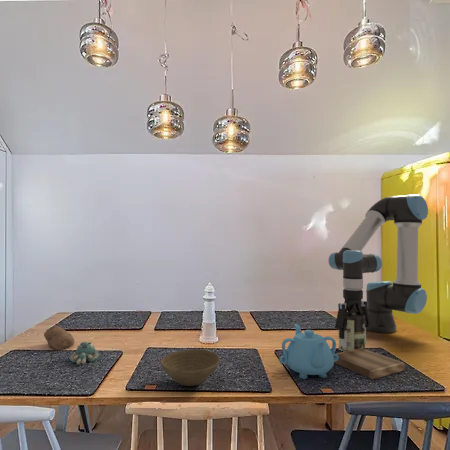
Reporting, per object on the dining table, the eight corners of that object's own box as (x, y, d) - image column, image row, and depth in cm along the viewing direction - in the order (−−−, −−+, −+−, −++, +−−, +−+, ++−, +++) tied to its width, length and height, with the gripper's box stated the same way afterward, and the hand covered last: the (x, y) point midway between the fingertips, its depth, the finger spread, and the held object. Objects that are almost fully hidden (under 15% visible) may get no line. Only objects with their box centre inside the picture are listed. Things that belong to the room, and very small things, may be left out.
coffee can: (362, 346, 149) (362, 312, 149) (367, 354, 139) (367, 318, 139) (336, 345, 151) (336, 311, 151) (339, 353, 141) (339, 316, 141)
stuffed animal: (64, 352, 125) (72, 336, 137) (64, 371, 126) (72, 353, 138) (96, 350, 127) (101, 334, 138) (96, 369, 128) (102, 352, 140)
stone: (47, 349, 151) (36, 332, 147) (66, 334, 158) (56, 317, 153) (63, 359, 144) (52, 342, 139) (82, 343, 150) (72, 325, 146)
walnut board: (361, 354, 139) (361, 347, 139) (404, 370, 123) (404, 362, 123) (330, 361, 132) (330, 354, 132) (372, 379, 116) (372, 371, 116)
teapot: (323, 388, 109) (323, 341, 109) (270, 371, 122) (270, 329, 122) (346, 373, 121) (346, 331, 121) (295, 359, 134) (295, 321, 134)
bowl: (147, 391, 106) (148, 364, 107) (177, 369, 124) (177, 346, 124) (205, 402, 100) (205, 372, 100) (228, 377, 117) (228, 352, 117)
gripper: (364, 285, 153) (365, 338, 153) (325, 289, 143) (325, 346, 142) (379, 288, 147) (380, 343, 146) (339, 292, 136) (339, 351, 135)
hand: (353, 344), depth 144 cm, fingers closed on coffee can, 10 cm apart
